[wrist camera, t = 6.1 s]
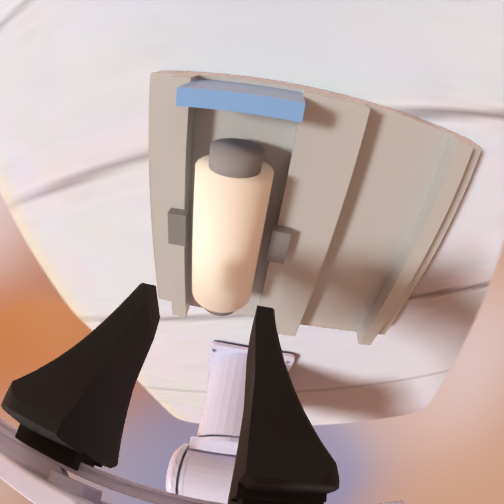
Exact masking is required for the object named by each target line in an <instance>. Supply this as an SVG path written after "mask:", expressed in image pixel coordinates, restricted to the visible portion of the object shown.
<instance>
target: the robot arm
mask: <svg viewBox="0 0 504 504" xmlns="http://www.w3.org/2000/svg"><path fill="white" fill-rule="evenodd" d="M159 319H160V315H159V307H158V300H157V292H156V286H154V285H149V284H145V283H141V284H140V285H139V286H138V287H137V288H136V289H135V290H134V291H133V292H132V293H131V294H130V295H129V297H128V298H127V299H126V300H125V301H124V302H123V303H122V304H121V305H120V306H119V307H118V308H117V309H116V310H115V311H114V312H113V313H112V314H111V315H110V316H109V317H108V318H107V319H105V320H104V321H103V322H102V323H101V324H100V325H99V326H98V327H97V328H96V329H94V330H93V331H92V332H91V333H90V334H89V335H88V336H86V337H85V338H84V339H83V340H81V341H80V342H79V343H78V344H76V345H75V346H74V347H72V348H71V349H69V350H68V351H67V352H65V353H64V354H62V355H61V356H59V357H58V358H56V359H55V360H53V361H51V362H50V363H48V364H46V365H44V366H43V367H41V368H39V369H38V370H36V371H34V372H32V373H30V374H27V375H26V376H23V377H21V378H19V379H17V380H14V381H13V382H12V383H11V385H10V387H9V389H8V391H7V393H6V395H5V397H4V400H3V402H2V404H1V406H2V408H3V409H4V410H5V411H6V412H7V413H8V414H9V415H11V416H12V417H13V418H14V419H15V420H17V421H18V422H19V423H20V426H19V428H18V429H16V428H15V427H13V426H12V425H10V424H8V423H7V422H5V421H4V420H2V419H1V418H0V478H1V479H2V480H3V481H4V482H6V483H7V484H8V485H9V486H11V487H12V488H13V489H15V490H16V491H17V492H19V493H20V494H21V495H23V496H24V497H26V498H27V499H28V500H30V501H31V502H33V503H34V504H109V503H107V502H104V501H101V496H102V491H100V490H97V489H95V488H93V487H90V486H88V485H86V484H83V483H81V482H79V481H76V480H74V479H72V478H70V477H69V476H68V473H67V471H69V472H71V473H73V474H75V475H78V476H80V477H82V478H84V479H87V480H89V481H92V482H94V483H96V484H99V485H101V486H104V487H106V488H109V489H112V490H115V491H117V492H120V493H123V494H126V495H129V496H132V497H135V498H138V499H141V500H144V501H148V502H151V503H155V504H324V502H326V496H327V493H330V492H333V491H336V490H337V489H338V488H339V475H338V470H337V465H336V462H335V461H334V459H333V458H332V457H331V455H330V454H329V452H328V451H327V450H326V448H325V446H324V445H323V443H322V442H321V440H320V439H319V437H318V435H317V434H316V432H315V430H314V428H313V427H312V425H311V423H310V421H309V419H308V417H307V415H306V414H305V412H304V410H303V408H302V405H301V403H300V401H299V399H298V397H297V394H296V392H295V389H294V387H293V384H292V382H291V379H290V376H289V371H290V369H291V367H292V365H293V363H294V361H295V356H294V355H293V354H289V353H282V350H281V346H280V342H279V338H278V333H277V328H276V321H275V310H274V309H273V308H270V307H264V306H258V305H257V308H256V312H255V317H254V321H253V326H252V330H251V335H250V341H249V347H244V346H238V345H232V344H227V343H221V342H216V341H213V342H211V343H210V349H209V374H208V388H207V393H206V397H205V402H204V406H203V411H202V415H201V420H200V425H199V429H198V434H197V437H195V436H191V440H190V444H183V445H182V446H181V447H180V448H178V449H177V450H176V451H175V452H174V454H173V455H172V457H171V460H170V463H169V466H168V470H167V476H166V491H162V490H158V489H155V488H151V487H148V486H144V485H141V484H137V483H134V482H132V481H128V480H125V479H123V478H119V477H117V476H114V475H112V474H109V473H106V472H103V471H101V470H98V469H96V468H94V465H96V466H99V467H102V466H106V467H109V468H112V467H115V466H117V464H118V457H119V450H120V443H121V438H122V433H123V428H124V423H125V418H126V414H127V410H128V406H129V403H130V399H131V395H132V391H133V388H134V385H135V383H136V380H137V378H138V375H139V373H140V370H141V368H142V366H143V363H144V361H145V359H146V356H147V354H148V351H149V349H150V347H151V344H152V342H153V339H154V336H155V333H156V330H157V326H158V323H159ZM66 470H67V471H66ZM381 504H403V501H395V502H388V503H381Z"/></svg>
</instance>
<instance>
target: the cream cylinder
mask: <svg viewBox="0 0 504 504" xmlns="http://www.w3.org/2000/svg"><path fill="white" fill-rule="evenodd" d="M263 155H264V148H263V147H262V146H261V145H259V144H257V143H255V142H252V141H249V140H244V139H238V138H223V139H218V140H215V141H213V142H211V144H210V153H209V155H206V156H204V157H202V158H200V159H199V160H198V161H197V162H196V164H195V181H194V204H193V238H192V294H193V297H194V299H195V300H196V301H197V303H198V304H200V305H201V306H202V307H204V308H205V309H206V310H207V311H208V312H210V313H212V314H214V315H219V316H224V315H229V314H232V313H233V312H235V311H237V310H239V309H241V308H242V307H244V306H245V305H246V304H247V303H248V301H249V299H250V297H251V292H252V287H253V281H254V276H255V271H256V266H257V261H258V255H259V250H260V245H261V240H262V234H263V229H264V224H265V219H266V213H267V208H268V203H269V197H270V192H271V187H272V181H273V176H274V170H273V168H272V167H271V166H270V165H269V164H268V163H266V162H265V161H263Z"/></svg>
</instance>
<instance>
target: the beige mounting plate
mask: <svg viewBox="0 0 504 504" xmlns="http://www.w3.org/2000/svg"><path fill="white" fill-rule="evenodd" d="M223 138H238V139H244V140H249V141H252V142H255V143H257V144H259V145H261V146H262V147H263V148H264V155H263V161H265V162H266V163H268V164H269V165H270V166H271V167H272V168H273V170H274V176H273V181H272V187H271V192H270V197H269V203H268V208H267V213H266V219H265V224H264V229H263V234H262V240H261V245H260V250H259V255H258V261H257V266H256V271H255V276H254V281H253V287H252V292H251V297H250V299H249V301H248V303H247V304H246V305H245V306H244V307H242V308H241V309H239V310H237V311H235V312H233V313H235V314H240V315H246V316H252V317H255V312H256V308H257V305H258V306H264V307H270V308H273V309H274V310H275V321H276V328H277V333H278V334H284V335H290V336H295V335H296V333H297V330H298V328H299V325H300V324H302V325H309V326H316V327H324V328H331V329H339V330H347V331H356V332H357V336H358V344H364V345H371V343H372V342H373V340H374V339H375V337H376V336H377V334H383V335H385V333H386V332H387V330H388V329H389V327H390V326H391V324H392V323H393V321H394V320H395V318H396V317H397V315H398V314H399V312H400V311H401V309H402V308H403V306H404V305H405V303H406V302H407V300H408V298H409V297H410V295H411V294H412V292H413V290H414V289H415V287H416V285H417V284H418V282H419V280H420V279H421V277H422V275H423V273H424V272H425V270H426V268H427V267H428V265H429V263H430V261H431V259H432V258H433V256H434V254H435V252H436V250H437V248H438V246H439V245H440V243H441V241H442V239H443V237H444V235H445V233H446V231H447V229H448V227H449V225H450V223H451V221H452V219H453V217H454V215H455V213H456V210H457V208H458V206H459V204H460V202H461V200H462V197H463V195H464V193H465V190H466V188H467V186H468V183H469V181H470V179H471V176H472V174H473V171H474V169H475V166H476V164H477V161H478V158H479V156H480V153H481V150H482V148H481V147H480V146H478V145H477V144H476V143H474V142H473V141H471V140H470V139H468V138H466V137H464V136H461V135H459V134H457V133H454V132H452V131H450V130H447V129H445V128H443V127H440V126H438V125H435V124H433V123H430V122H428V121H425V120H422V119H420V118H417V117H414V116H412V115H409V114H406V113H403V112H400V111H397V110H394V109H391V108H388V107H385V106H382V105H378V104H375V103H372V102H368V101H365V100H361V99H358V98H354V97H350V96H347V95H343V94H339V93H335V92H330V91H326V90H322V89H317V88H313V87H308V86H303V85H298V84H292V83H287V82H281V81H275V80H269V79H262V78H255V77H247V76H239V75H230V74H220V73H207V72H191V71H158V72H154V73H151V74H150V96H149V180H150V204H151V221H152V235H153V248H154V259H155V269H156V279H157V288H158V296H159V299H164V300H169V301H172V310H173V314H174V315H179V316H184V317H186V315H187V312H188V309H189V306H190V305H193V306H198V307H202V306H201V305H200V304H198V303H197V301H196V300H195V299H194V297H193V294H192V238H193V204H194V181H195V164H196V162H197V161H198V160H199V159H200V158H202V157H204V156H206V155H209V153H210V144H211V142H213V141H215V140H218V139H223ZM203 308H204V307H203Z"/></svg>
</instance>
